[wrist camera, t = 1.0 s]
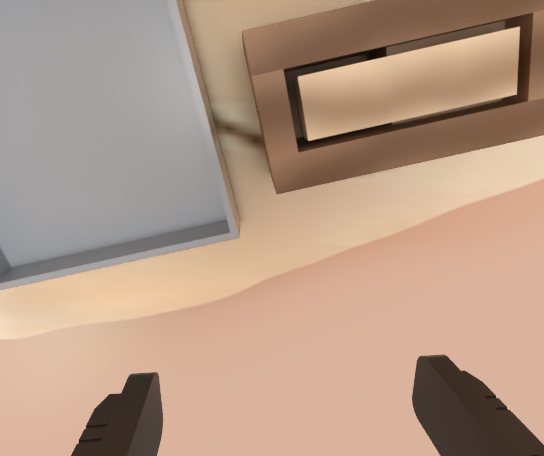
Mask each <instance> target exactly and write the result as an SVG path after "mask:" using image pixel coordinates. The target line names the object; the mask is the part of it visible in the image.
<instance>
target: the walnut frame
mask: <svg viewBox="0 0 544 456" xmlns="http://www.w3.org/2000/svg"><path fill="white" fill-rule="evenodd" d="M515 27H520V38H519V59H518V79H517V95H512V96H508V97H503V98H499V99H494V100H490V101H485V102H481V103H477V104H472V105H468V106H463V107H459V108H454V109H450V110H445V111H441V112H436V113H432V114H427V115H423V116H418V117H414V118H409V119H405V120H400V121H396V122H391V123H387V124H382V125H378V126H373V127H369V128H364V129H360V130H356V131H351V132H347V133H342V134H338V135H333V136H329V137H324V138H320V139H315V140H311V141H308V140H307V139H305V138H304V137H303V134H302V128H301V123H300V117H299V111H298V105H297V99H296V93H295V88H294V82H293V78H295V77H298V76H303V75H307V74H312V73H316V72H321V71H325V70H329V69H334V68H338V67H343V66H347V65H352V64H356V63H360V62H365V61H369V60H374V59H378V58H383V57H387V56H391V55H396V54H400V53H405V52H409V51H414V50H418V49H422V48H427V47H431V46H436V45H440V44H445V43H449V42H453V41H458V40H462V39H467V38H471V37H476V36H480V35H484V34H489V33H493V32H498V31H502V30H507V29H511V28H515ZM242 37H243V47H244V52H245V57H246V61H247V66H248V71H249V75H250V80H251V85H252V89H253V94H254V99H255V103H256V108H257V113H258V117H259V122H260V127H261V132H262V136H263V141H264V146H265V150H266V155H267V160H268V164H269V169H270V173H271V177H272V180H273V184H274V187H275V190H276V194H280V193H284V192H289V191H293V190H298V189H303V188H307V187H312V186H316V185H321V184H325V183H330V182H334V181H339V180H343V179H348V178H352V177H357V176H361V175H366V174H370V173H375V172H379V171H384V170H388V169H393V168H397V167H402V166H406V165H411V164H415V163H420V162H425V161H429V160H434V159H438V158H443V157H447V156H452V155H456V154H461V153H465V152H470V151H474V150H479V149H483V148H488V147H492V146H497V145H501V144H506V143H510V142H515V141H519V140H524V139H528V138H533V137H537V136H542V135H544V0H376V1H372V2H367V3H363V4H358V5H354V6H350V7H345V8H341V9H337V10H332V11H328V12H323V13H319V14H315V15H310V16H306V17H302V18H297V19H293V20H288V21H284V22H280V23H275V24H271V25H266V26H262V27H258V28H253V29H249V30H245V31H242Z"/></svg>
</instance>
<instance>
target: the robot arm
mask: <svg viewBox="0 0 544 456" xmlns="http://www.w3.org/2000/svg"><path fill="white" fill-rule="evenodd" d="M412 401H413V407H414V411H415V414H416V416H417V418H418V420H419V422H420V423H421V425H422V427H423V428H424V430H425V431H426V433H427V435H428V436H429V438H430V439H431V441H432V443H433V444H434V446H435V447H436V449H437V450H438V452H439V454H440V455H441V456H544V445H543V444H542V443H541V442H540V441H539V440H538V439H537V438H536V437H535V436H534V434H533V433H532V432H531V431H530V430H529V429H528V428H527V427H526V426H525V425H524V424H523V423H522V422H521V421H520V420H519V419H518V418H517V417H516V416H515V415H514V414H513V413H512V412H511V411H510V410H508V409H507V407H506V406H505V405H504V404H503V403H502V401H501V400H500V399H499V398H496V395H495V394H494V393H493V392H492V391H491V390H490V389H489V388H488V387H487V386H486V385H485V384H484V383H483V382H482V381H480V380H479V379H477V378H476V377H474V376H472V375H471V374H469V373H468V372H466V371H460V370H459V368H458V367H457V366H456V365H455V364H454V363H453V362H452V361H451V360H450V359H449V358H448V357H447V356H445V355H431V356H420V357H419V358H418V360H417V366H416V373H415V380H414V388H413V395H412ZM162 427H163V413H162V402H161V394H160V384H159V376H158V373H156V372H154V373H137V374H130V376H129V377H128V379H127V382H126V384H125V386H124V388H123V391H122V393H121V394H109V395H108V396H107V397H106V398H105V399H104V400H103V401H102V402H101V403H100V404H99V405H98V406H97V407H96V408H95V409H94V412H93V413H92V415H91V417H90V419H89V421H88V423H87V425H86V429H85V430H84V431H83V433H82V435H81V437H80V439H79V444H77V445H76V447H75V449H74V451H73V453H72V455H71V456H157V453H158V448H159V445H160V441H161V436H162Z"/></svg>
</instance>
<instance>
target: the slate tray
mask: <svg viewBox="0 0 544 456" xmlns="http://www.w3.org/2000/svg"><path fill="white" fill-rule="evenodd" d="M239 233H240V219H239V215H238V211H237V207H236V203H235V200H234V196H233V192H232V188H231V184H230V180H229V176H228V173H227V169H226V165H225V161H224V157H223V153H222V150H221V146H220V142H219V138H218V134H217V130H216V127H215V123H214V119H213V115H212V111H211V107H210V103H209V100H208V96H207V92H206V88H205V84H204V80H203V77H202V73H201V69H200V65H199V61H198V57H197V54H196V50H195V46H194V42H193V38H192V34H191V30H190V27H189V23H188V19H187V15H186V11H185V7H184V4H183V0H0V290H3V289H8V288H13V287H17V286H22V285H26V284H31V283H35V282H40V281H44V280H49V279H53V278H58V277H63V276H67V275H72V274H76V273H81V272H85V271H90V270H94V269H99V268H103V267H108V266H113V265H117V264H122V263H126V262H131V261H135V260H140V259H144V258H149V257H153V256H158V255H163V254H167V253H172V252H176V251H181V250H185V249H190V248H194V247H199V246H204V245H208V244H213V243H217V242H222V241H226V240H231V239H235V238H239Z"/></svg>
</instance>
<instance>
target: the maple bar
mask: <svg viewBox="0 0 544 456" xmlns="http://www.w3.org/2000/svg"><path fill="white" fill-rule="evenodd" d="M519 38H520V27H515V28H511V29H507V30H502V31H498V32H493V33H489V34H484V35H480V36H476V37H471V38H467V39H462V40H458V41H453V42H449V43H445V44H440V45H436V46H431V47H427V48H422V49H418V50H414V51H409V52H405V53H400V54H396V55H391V56H387V57H383V58H378V59H374V60H369V61H365V62H360V63H356V64H352V65H347V66H343V67H338V68H334V69H329V70H325V71H321V72H316V73H312V74H307V75H303V76H298V77H295V78H293V82H294V88H295V93H296V99H297V105H298V111H299V117H300V123H301V128H302V134H303V137H304V138H305V139H307V140H308V141H311V140H315V139H320V138H324V137H329V136H333V135H338V134H342V133H347V132H351V131H356V130H360V129H364V128H369V127H373V126H378V125H382V124H387V123H391V122H396V121H400V120H405V119H409V118H414V117H418V116H423V115H427V114H432V113H436V112H441V111H445V110H450V109H454V108H459V107H463V106H468V105H472V104H477V103H481V102H485V101H490V100H494V99H499V98H503V97H508V96H512V95H517V79H518V59H519Z"/></svg>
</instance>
